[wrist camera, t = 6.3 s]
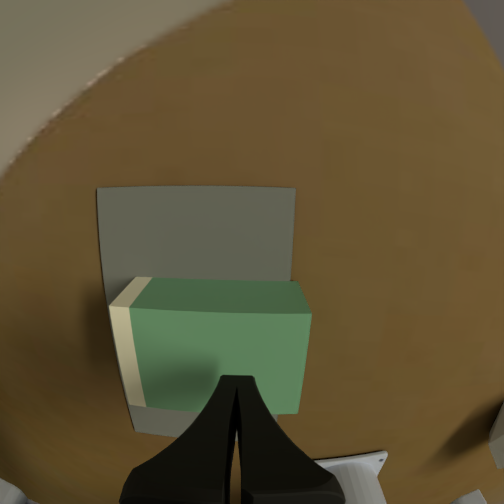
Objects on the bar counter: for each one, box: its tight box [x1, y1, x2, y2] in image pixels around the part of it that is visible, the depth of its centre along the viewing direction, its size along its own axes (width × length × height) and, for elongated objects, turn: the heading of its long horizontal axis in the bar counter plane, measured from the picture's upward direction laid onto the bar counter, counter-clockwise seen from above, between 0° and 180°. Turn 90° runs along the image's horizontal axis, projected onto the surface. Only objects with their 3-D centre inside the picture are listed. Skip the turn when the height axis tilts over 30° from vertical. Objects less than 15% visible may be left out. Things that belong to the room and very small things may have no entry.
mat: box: [97, 186, 296, 441], centre depth 18 cm, size 18×11×1 cm, turn 178°
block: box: [109, 277, 312, 414], centre depth 16 cm, size 6×4×9 cm
